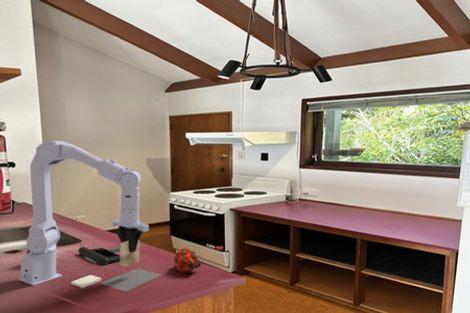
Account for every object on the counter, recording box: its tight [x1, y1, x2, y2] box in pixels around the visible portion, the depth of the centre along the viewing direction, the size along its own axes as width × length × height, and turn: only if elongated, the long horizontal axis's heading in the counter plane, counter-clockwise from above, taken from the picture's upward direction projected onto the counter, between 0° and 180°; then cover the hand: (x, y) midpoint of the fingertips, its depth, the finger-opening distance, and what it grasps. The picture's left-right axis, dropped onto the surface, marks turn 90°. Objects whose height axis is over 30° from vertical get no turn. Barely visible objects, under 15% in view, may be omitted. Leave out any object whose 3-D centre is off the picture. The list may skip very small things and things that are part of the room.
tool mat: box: [99, 268, 162, 293], centre depth 114 cm, size 16×11×1 cm
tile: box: [70, 274, 102, 289], centre depth 110 cm, size 2×5×7 cm
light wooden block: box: [119, 239, 141, 267], centre depth 115 cm, size 6×2×7 cm, turn 150°
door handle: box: [78, 246, 120, 266], centre depth 137 cm, size 3×20×16 cm
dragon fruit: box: [173, 247, 202, 275], centre depth 123 cm, size 8×8×12 cm
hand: (129, 250), depth 114 cm, fingers closed on light wooden block, 2 cm apart
